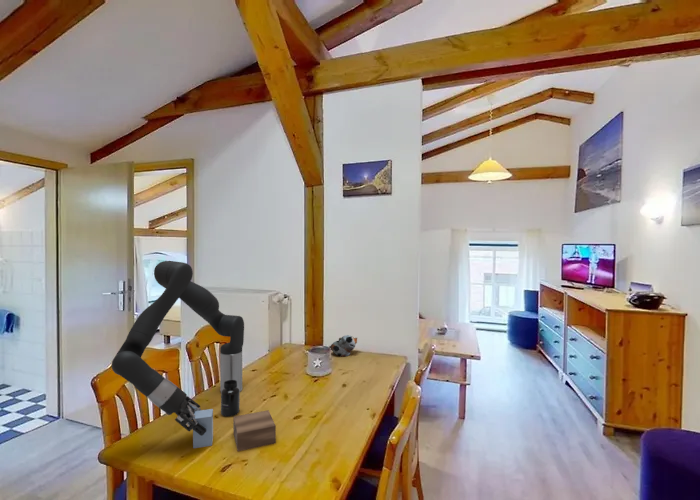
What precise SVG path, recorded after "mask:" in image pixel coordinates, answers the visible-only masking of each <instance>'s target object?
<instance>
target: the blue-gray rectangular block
mask: <svg viewBox="0 0 700 500" xmlns="http://www.w3.org/2000/svg"><path fill="white" fill-rule="evenodd" d="M194 415H195V419H196V421H197V422H198V423H199V424H201V425H202V426H203V427H204V428H206V429H207V430H206V432H205V433H204V435H202V436H201V435H199V434H198V433H197V432H196V431H194V430H193V429H192V446H193V447H192V448H193V449H198V448H204V447H210V446H213V442H214V441H213V440H214V409H213V408H209V409H201V410H199V411H195V413H194Z"/></svg>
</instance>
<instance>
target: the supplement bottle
mask: <svg viewBox="0 0 700 500" xmlns="http://www.w3.org/2000/svg"><path fill="white" fill-rule="evenodd" d="M240 393H241V391H240V390H239V388H237V381H236V380H228V381H225V382H224V389H223V390H222V392H220V414H221V415H222V416H223V417H234V416H237V415H239V413H240V406H241V404H240V400H241V399H240V396H241V395H240Z"/></svg>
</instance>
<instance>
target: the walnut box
mask: <svg viewBox="0 0 700 500" xmlns="http://www.w3.org/2000/svg"><path fill="white" fill-rule="evenodd" d="M232 417H233V423H232V424H233V427H232V428H233V431H232V432H233V437H234V442H235V446H236V451H237V452H241V451H247V450H251V449H256V448H260V447H264V446H269V445H274V444H276V443H277V441H276V439H277V435H276V432H277V430H276V429H277V428H276V426H277V425H276V423H275V422H274V421H275V420H274V419H273V417H272V414H271V412H270V410H262V411H257V412H251V413H246V414H240V415H239V414H238V415H234V416H232Z"/></svg>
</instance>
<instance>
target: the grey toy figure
mask: <svg viewBox="0 0 700 500" xmlns="http://www.w3.org/2000/svg"><path fill="white" fill-rule="evenodd" d="M357 343H358V337H354V336H353V335H348V334H347V335H343V336H342V337H339V338H338V340H336V341H334V342H333V343H331V345H329V346H328V348H329V349H330V348H331V349H330V350H331V351H332V352H333V354H334V355H336V356H339V357H341V358H344V357H345V358H346V357H350V355H351V352H352V351H353V350H354V349H355V348H356V344H357Z"/></svg>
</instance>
